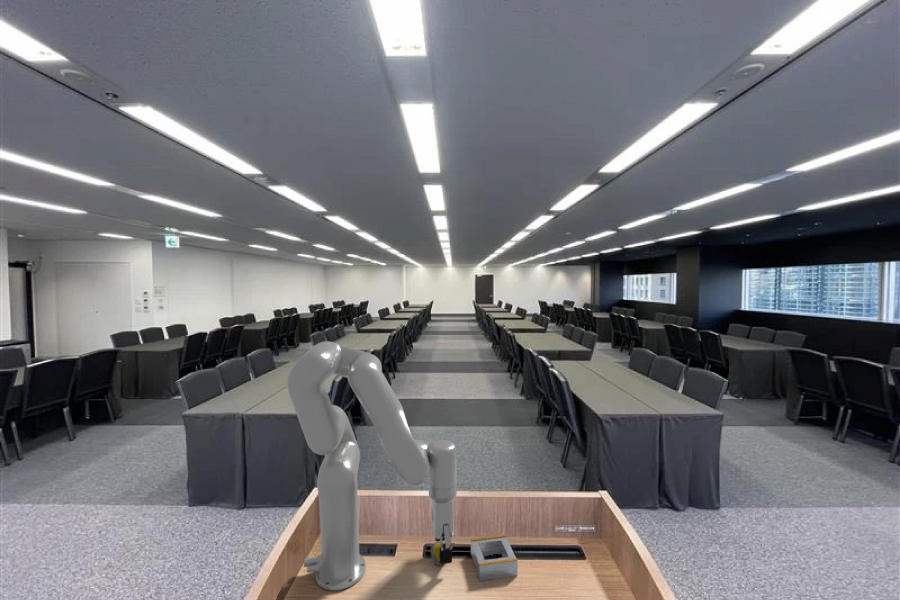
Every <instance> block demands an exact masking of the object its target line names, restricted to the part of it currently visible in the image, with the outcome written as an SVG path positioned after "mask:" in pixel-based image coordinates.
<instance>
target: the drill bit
mask: <svg viewBox="0 0 900 600" xmlns="http://www.w3.org/2000/svg"><path fill="white" fill-rule="evenodd" d="M444 543H445V542H443V544H444ZM451 545H452V549H453V548H454V547H455V542H451ZM440 548H441V545H440V541H435V542H434V543H433V544H432V545H431V547H430V557H431V559H432V562H433V565H434V566H435V565H437V566H442V565H444V564H440Z"/></svg>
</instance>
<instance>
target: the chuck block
mask: <svg viewBox="0 0 900 600" xmlns="http://www.w3.org/2000/svg"><path fill="white" fill-rule="evenodd" d="M493 554H498V555H501V554H502V555H501V557H499V558H491V559H485V557H490V556H489V555H491V556H494V555H493ZM470 555H471V557H472V558H471V559H472V561H473V564H474V568H475V571H476V574H477V577H478V580H479V582H482V581H483V582H485V581H491V580H498V579H503V578H504V579H505V578H511V577H512V578H513V577H517V576H518V558H517V557H516V555H515V553H514V550H513V549H512V547H511V544H510V542H509V540H508V538H507V535H506V534H498V535H489V536H483V537H481V536H480V537H474V538H470Z"/></svg>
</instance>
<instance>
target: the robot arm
mask: <svg viewBox="0 0 900 600" xmlns="http://www.w3.org/2000/svg"><path fill="white" fill-rule="evenodd" d="M332 375H336V376H340V377H343V378H347V382H348V385H349V386H350V387H351V389H352V392H353V393H354V394H355V396H356V398H357V399H358V402H360V404H361V406H362V408H363V410H364V411H365V413H366V414H367V416H368V418H369V419H370V421H371V422H372V425H373V427H374V430H375V432H376V434H377V436H378V438H379V439H378V440H380V443H381V446H382V447H383V450H384V451H385V453H386V455H387V457H388V459H389V461H390V463H391V465H392V466H393V468H394V469H395V471H396V473H397V474H398V476H399V478H400V479H401V480H402V481H403V482H404V483H406V484H407V485H410V486H418V485H421V484H423V483H424V482H425V481H426V480H427V479H428V496H429V498H430V499H431V502H430V503H431V506H430V507H431V509H430V510H431V511H430V513H431V514H430V521H431V526H432V527H431V528H432V533H433V536H434V540H435V542H440V545H441V548H440V564H443V565H444V564H450V563H453V548H452V545H451V543H452V538H453V536H454V530H455V529H454V499H455V498H456V497H457V495H458V494H457V493H458V492H457V489H458V488H457V486H458V485H457V482H458V481H457V467H458V466H457V447H456V445H455V443H454V442H452V441H451V440H447V439H438V440H423V439H422V440H421V439H414V437H413V435H412V432H411V431H410V430H411V429H410V428H409V424H408V422H407V421H408V420H407V418H406V414H405V410H404V407H403V405H402V403H401V402H400V399H399V398H398V397H397V395H396V393H395V392H394V390H393V388H392V386H391V385H390V383H389V382H388V380H387V378H386V376H385V374H384V373H383V366H382V362H381V360H380V359H379V358H378V357H377V356H376V355H374V354H372V353H370V352H367V351H363V350H360V349H358V348H354V347H349V346H347V345H344V344H341V343H337V342H334V341H330V340H329V341H325V340H324V341H321V342H318V343H316V344H314V345H313V346H312V347H311V348H310V349H308V350H307V351H306V352H305V353H304V354H303V355H302V356H301V357H300V358H299V359H298V360H297V361H296V362H295V364H294V365H293V366H292V368H291V369H290V372H289V374H288V377H287V384H286V385H287V392H288V395H289V398H290V401H291V403H292V406H293V408H294V411H295V413H296V416H297V419H298V422H299V425H300V428H301V430H302V433H303V435H304V439H305V441H306V443H307V444H306V445H307V446H308V448H309V449H310V450H311V451H312V452H313V453H314V454H317V455H320V456H324V458H323V459H322V462H321V464H320V467H319V470H318V474H317V477H316V478H317V480H316V484H317V485H316V486H317V493H318V503H319V519H320V522H319V523H320V526H319V527H320V555H317V556H316V557H307V558H306V557H305V558H304V562H303V568H306V569H307V570H306V573H313V572H315V581H316V584H317V585H318V586H319V587H321V588H322V589H324V590H327V591H343V590H344V589H348V588H350V587H352V586H353V585H355V584H357V583H358V582H359V581H360V580H361V579H362V578H363V576H364V574H365V572H366V569H367V568H366V566H367V565H366V560H365V558H364V557H363V555H361V554H360V536H359V535H360V534H359V533H360V531H359V528H360V527H359V522H360V521H359V499H358V497H359V496H358V472H359V466H360V462H361V461H360V460H361V450H360V447H359V445H358V442H357V438H356V436H355V432H354V431H353V427H352V425H351V423H350V420H349V417H348V415H347V414H346V412H345V411H344V410H343V408H342V407H340V406H338V405H335V404H332V402H331V398H330V396H329V394H328V392H327V390H326V388H325V383H326V381H327V380H328V379H329V378H330V377H331V376H332ZM443 543H444V544H443Z"/></svg>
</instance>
